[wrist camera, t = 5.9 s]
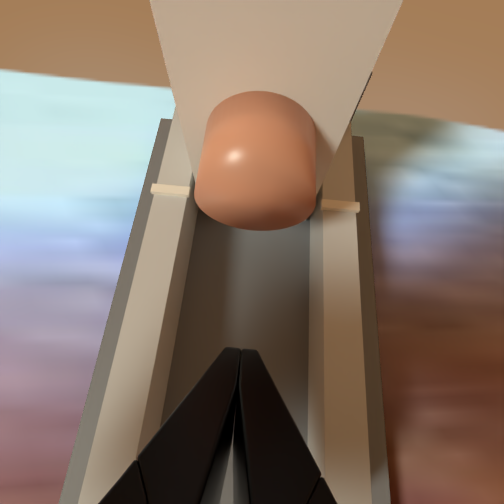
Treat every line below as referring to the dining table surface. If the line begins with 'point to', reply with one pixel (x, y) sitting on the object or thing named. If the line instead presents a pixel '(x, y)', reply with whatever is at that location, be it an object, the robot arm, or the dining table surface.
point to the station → (241, 325)
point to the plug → (267, 96)
